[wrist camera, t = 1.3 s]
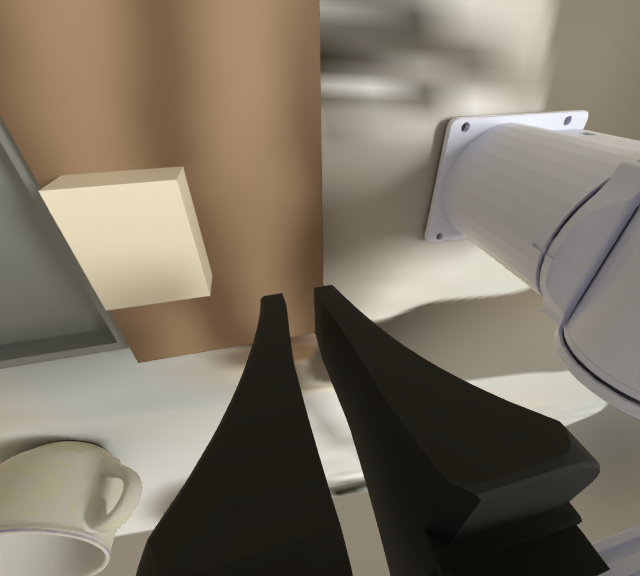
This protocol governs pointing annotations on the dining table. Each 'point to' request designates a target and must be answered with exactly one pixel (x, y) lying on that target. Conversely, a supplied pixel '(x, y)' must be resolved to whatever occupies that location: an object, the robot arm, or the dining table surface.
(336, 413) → the dining table surface
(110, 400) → the dining table surface
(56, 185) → the tile
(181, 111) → the board
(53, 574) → the teacup
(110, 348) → the tray
